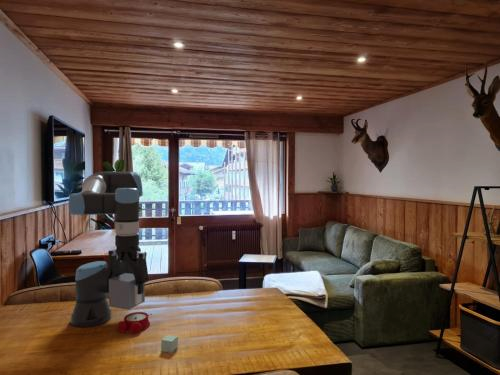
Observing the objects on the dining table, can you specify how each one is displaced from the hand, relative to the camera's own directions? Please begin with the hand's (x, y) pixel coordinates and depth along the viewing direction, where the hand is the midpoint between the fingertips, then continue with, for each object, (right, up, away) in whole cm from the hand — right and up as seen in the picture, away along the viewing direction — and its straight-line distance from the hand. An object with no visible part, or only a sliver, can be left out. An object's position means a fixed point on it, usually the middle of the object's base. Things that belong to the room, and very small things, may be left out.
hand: (127, 301), depth 113 cm
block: (+13, -18, +3) cm, 22 cm away
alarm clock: (-4, -17, +20) cm, 27 cm away
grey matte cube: (0, -1, 0) cm, 1 cm away
